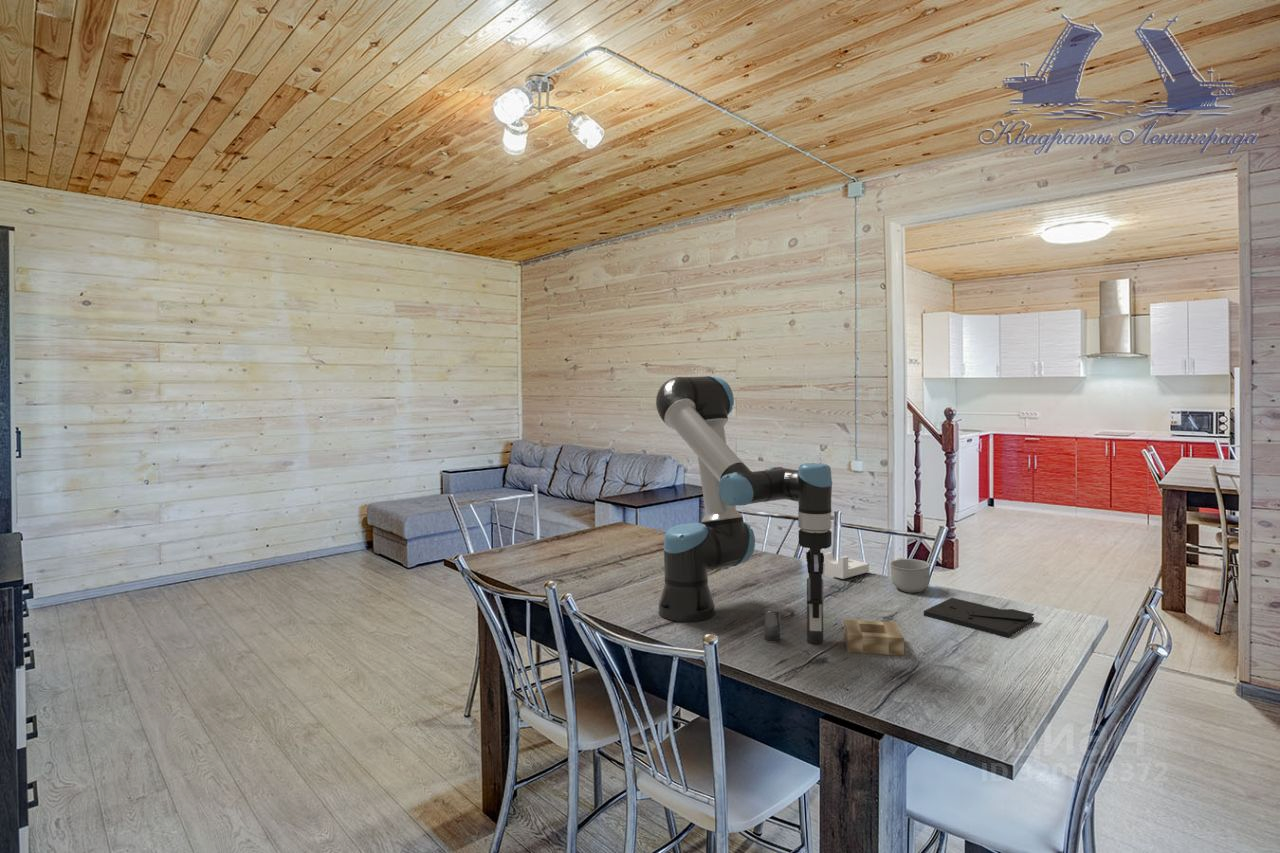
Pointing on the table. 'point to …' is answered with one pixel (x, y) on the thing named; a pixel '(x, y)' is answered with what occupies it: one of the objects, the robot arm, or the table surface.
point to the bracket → (843, 567)
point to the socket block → (873, 637)
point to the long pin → (812, 636)
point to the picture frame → (980, 617)
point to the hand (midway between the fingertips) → (815, 626)
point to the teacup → (910, 574)
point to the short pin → (772, 624)
